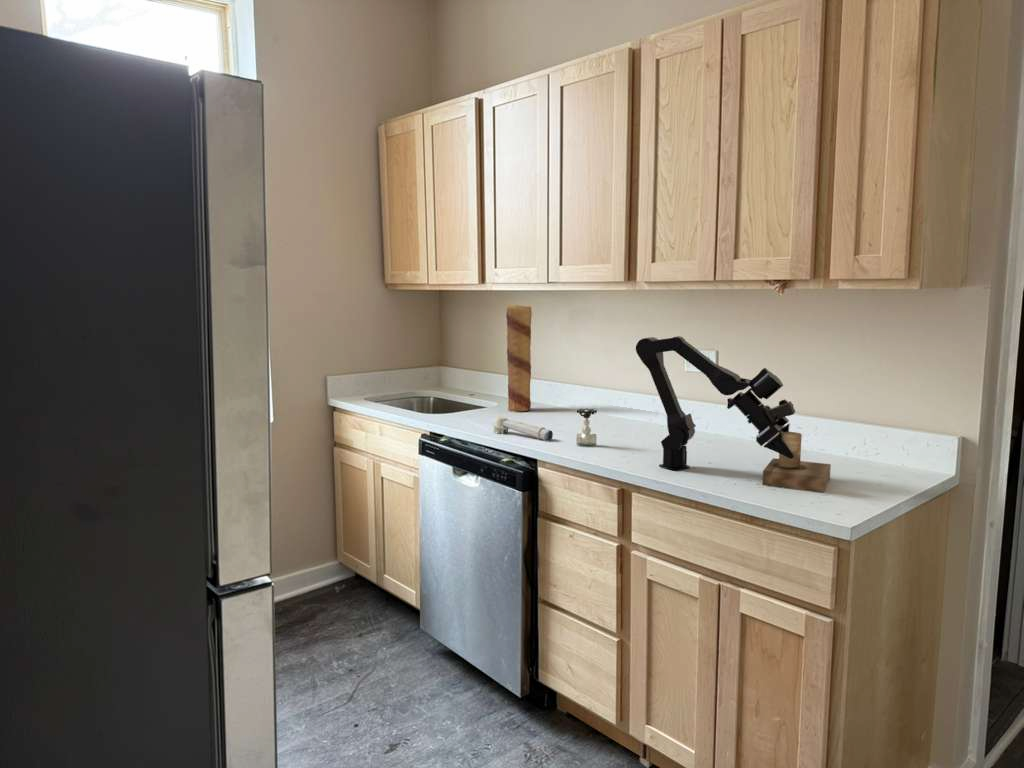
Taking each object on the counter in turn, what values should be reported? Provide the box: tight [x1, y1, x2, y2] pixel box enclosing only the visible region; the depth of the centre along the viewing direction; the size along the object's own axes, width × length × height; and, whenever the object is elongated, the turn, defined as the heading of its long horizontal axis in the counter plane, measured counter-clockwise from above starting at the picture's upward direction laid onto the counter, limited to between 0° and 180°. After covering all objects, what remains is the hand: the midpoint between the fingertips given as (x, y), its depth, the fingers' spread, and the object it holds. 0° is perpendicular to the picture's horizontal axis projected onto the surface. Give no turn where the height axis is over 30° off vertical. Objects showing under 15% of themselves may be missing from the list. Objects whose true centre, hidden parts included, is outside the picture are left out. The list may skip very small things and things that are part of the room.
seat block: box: [761, 457, 832, 493], centre depth 194 cm, size 15×16×4 cm
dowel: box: [778, 431, 803, 469], centre depth 194 cm, size 5×5×13 cm
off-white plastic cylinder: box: [492, 415, 554, 441], centre depth 256 cm, size 5×7×25 cm
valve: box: [575, 407, 598, 446], centre depth 240 cm, size 7×7×12 cm
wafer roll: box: [505, 305, 533, 413], centre depth 309 cm, size 10×11×45 cm
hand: (795, 454), depth 193 cm, fingers open, 9 cm apart
